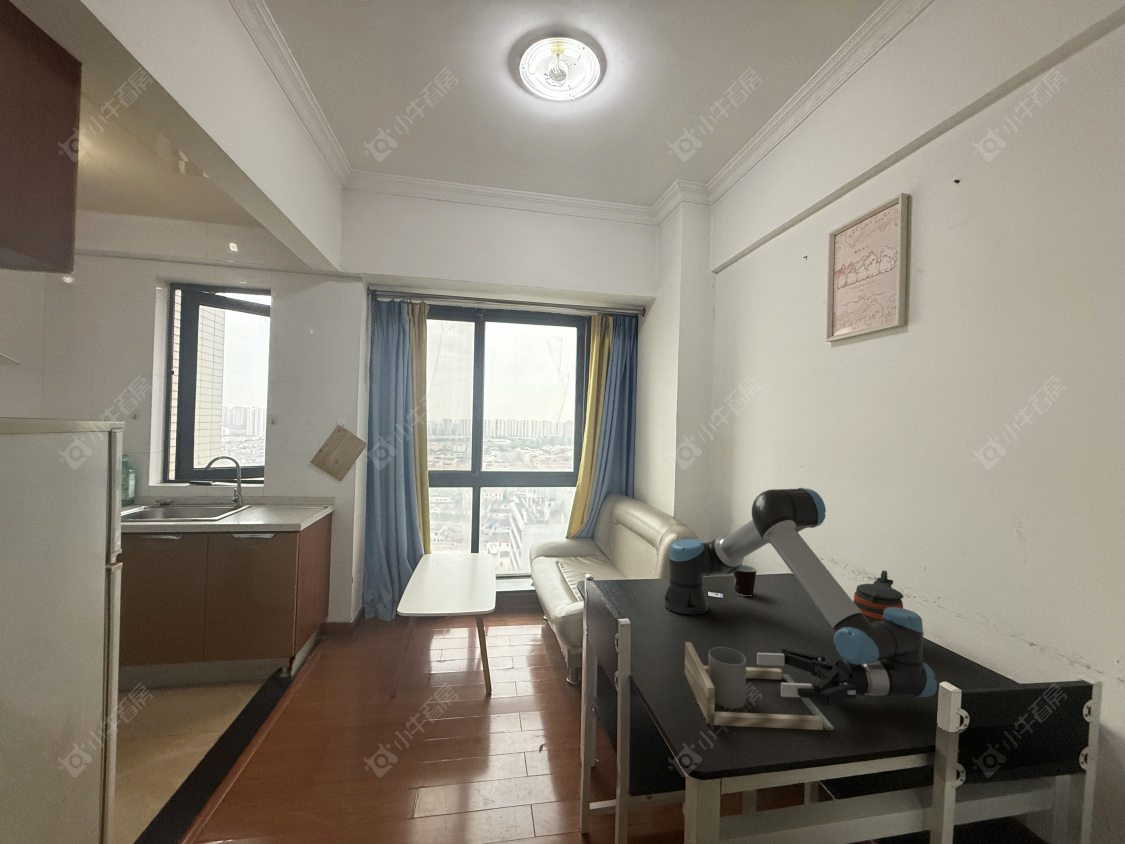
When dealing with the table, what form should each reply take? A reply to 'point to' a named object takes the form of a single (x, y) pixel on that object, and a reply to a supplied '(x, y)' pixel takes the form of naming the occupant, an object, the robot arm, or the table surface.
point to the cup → (728, 676)
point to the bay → (706, 701)
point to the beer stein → (877, 598)
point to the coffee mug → (745, 580)
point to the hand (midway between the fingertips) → (768, 673)
